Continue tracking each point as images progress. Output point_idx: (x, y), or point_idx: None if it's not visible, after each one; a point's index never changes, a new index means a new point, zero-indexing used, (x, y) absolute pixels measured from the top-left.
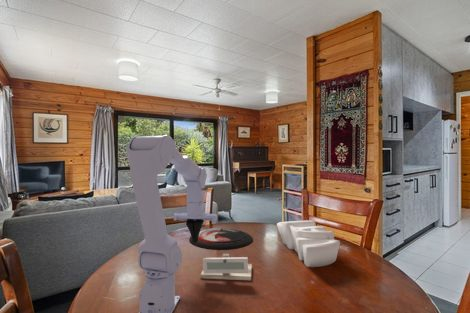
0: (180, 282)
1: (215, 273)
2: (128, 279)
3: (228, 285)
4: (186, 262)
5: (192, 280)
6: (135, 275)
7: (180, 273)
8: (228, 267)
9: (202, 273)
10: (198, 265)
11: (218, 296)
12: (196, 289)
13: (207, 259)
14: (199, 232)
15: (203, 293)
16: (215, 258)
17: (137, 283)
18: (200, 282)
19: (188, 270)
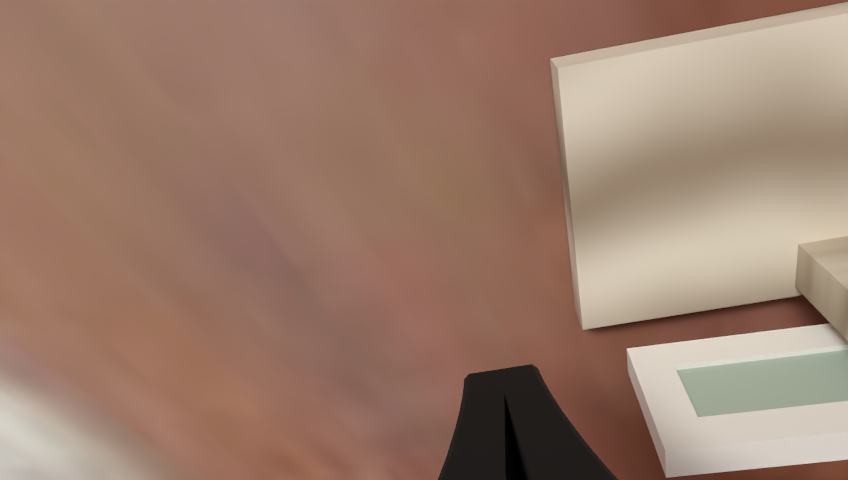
0: (435, 397)
1: (720, 281)
2: (17, 455)
3: None
4: (274, 47)
5: (517, 353)
6: (8, 401)
7: (355, 283)
8: None
9: (593, 311)
10: (453, 82)
11: (769, 468)
12: (595, 440)
13: (719, 466)
14: (592, 455)
15: (659, 465)
16: (818, 452)
17: (132, 477)
18: (594, 362)
19: (399, 214)
